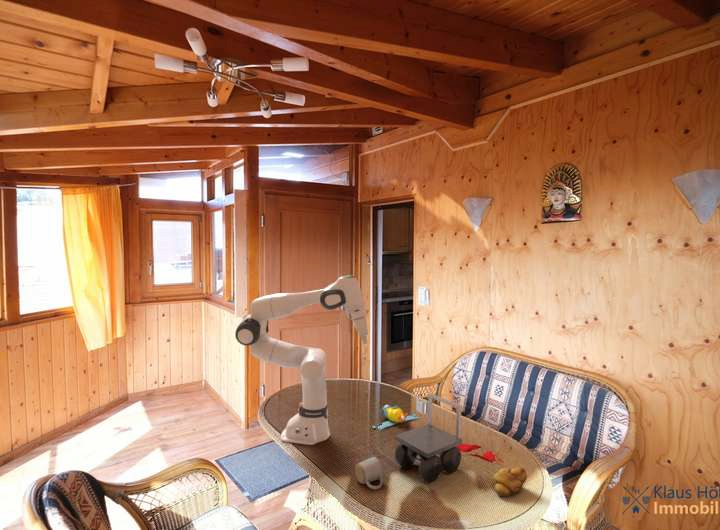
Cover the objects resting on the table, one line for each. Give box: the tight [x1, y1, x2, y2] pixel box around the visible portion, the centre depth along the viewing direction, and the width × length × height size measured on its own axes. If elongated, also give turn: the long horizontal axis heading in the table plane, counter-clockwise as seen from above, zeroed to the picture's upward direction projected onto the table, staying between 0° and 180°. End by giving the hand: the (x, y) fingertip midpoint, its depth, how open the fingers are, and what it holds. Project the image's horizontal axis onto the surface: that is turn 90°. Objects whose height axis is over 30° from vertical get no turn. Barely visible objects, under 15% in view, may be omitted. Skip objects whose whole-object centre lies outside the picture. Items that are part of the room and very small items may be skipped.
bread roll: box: [492, 466, 528, 497], centre depth 148 cm, size 13×10×8 cm
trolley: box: [394, 393, 463, 484], centre depth 161 cm, size 21×18×26 cm
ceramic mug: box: [354, 456, 383, 490], centre depth 153 cm, size 11×8×8 cm
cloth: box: [455, 443, 505, 464], centre depth 176 cm, size 26×14×2 cm, turn 36°
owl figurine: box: [371, 404, 421, 431], centre depth 206 cm, size 28×9×15 cm
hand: (363, 340), depth 182 cm, fingers open, 8 cm apart
